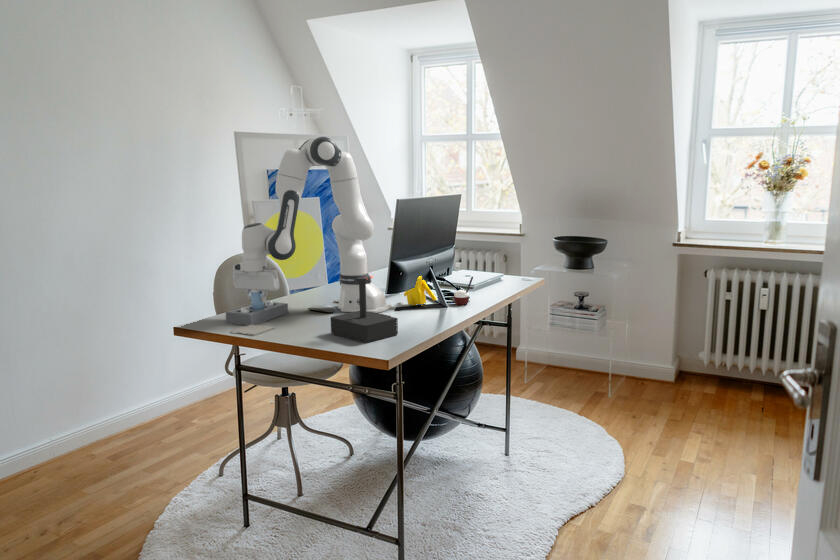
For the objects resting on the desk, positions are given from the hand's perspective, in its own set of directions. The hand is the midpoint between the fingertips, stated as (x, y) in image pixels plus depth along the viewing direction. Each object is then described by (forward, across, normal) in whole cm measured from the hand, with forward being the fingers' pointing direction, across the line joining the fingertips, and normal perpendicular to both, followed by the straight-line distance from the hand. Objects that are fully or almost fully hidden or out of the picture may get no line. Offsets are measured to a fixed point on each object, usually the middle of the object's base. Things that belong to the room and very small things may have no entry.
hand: (257, 300), depth 246 cm
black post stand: (+7, -52, +5) cm, 53 cm away
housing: (+7, 0, 0) cm, 7 cm away
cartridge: (+7, 0, 0) cm, 7 cm away
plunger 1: (+6, 0, +7) cm, 9 cm away
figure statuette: (+7, -47, -45) cm, 65 cm away
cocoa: (+7, -64, -53) cm, 83 cm away
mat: (+7, -12, +17) cm, 22 cm away
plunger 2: (+6, 0, -7) cm, 9 cm away
